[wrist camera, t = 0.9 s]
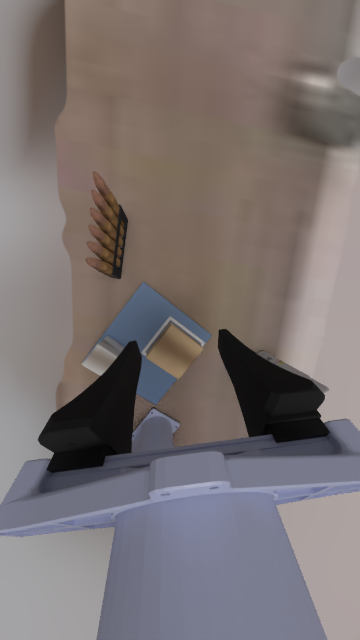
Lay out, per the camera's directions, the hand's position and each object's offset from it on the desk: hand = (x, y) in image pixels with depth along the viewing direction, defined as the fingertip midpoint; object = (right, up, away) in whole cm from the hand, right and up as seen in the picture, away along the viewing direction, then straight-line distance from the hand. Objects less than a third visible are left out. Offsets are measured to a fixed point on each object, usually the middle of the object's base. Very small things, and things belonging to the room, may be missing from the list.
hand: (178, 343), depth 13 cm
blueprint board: (-6, -4, +19) cm, 20 cm away
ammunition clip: (-11, +15, +15) cm, 24 cm away
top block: (-14, -4, +17) cm, 23 cm away
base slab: (-1, -4, +19) cm, 19 cm away
